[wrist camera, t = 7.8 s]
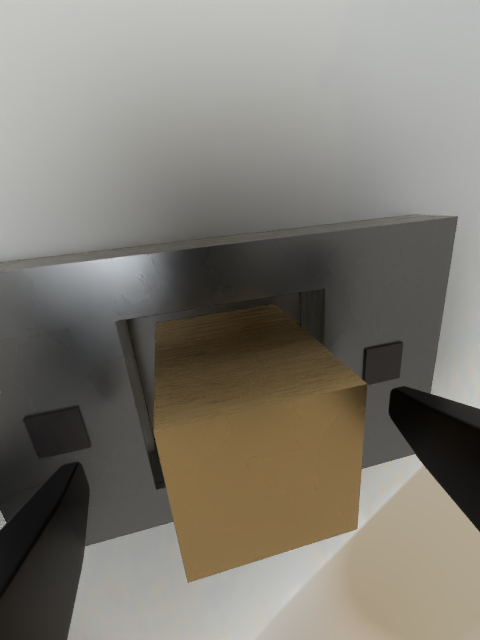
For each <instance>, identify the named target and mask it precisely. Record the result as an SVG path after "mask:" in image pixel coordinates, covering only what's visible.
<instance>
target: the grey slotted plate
mask: <svg viewBox="0 0 480 640" xmlns="http://www.w3.org/2000/svg"><path fill="white" fill-rule="evenodd" d="M457 218H458V216H435V215H406V216H397V217H388V218H380V219H371V220H362V221H354V222H345V223H337V224H328V225H319V226H311V227H302V228H293V229H285V230H276V231H267V232H259V233H250V234H241V235H233V236H224V237H215V238H207V239H198V240H190V241H181V242H172V243H164V244H155V245H146V246H138V247H129V248H120V249H112V250H103V251H94V252H86V253H77V254H69V255H60V256H51V257H43V258H34V259H25V260H17V261H8V262H0V510H1V512H2V514H3V516H4V518H5V520H6V522H8V521H9V520H10V519H11V518H12V517H13V516H14V515H15V514H16V513H17V512H18V511H19V510H20V509H21V508H22V507H23V506H24V504H25V503H26V502H27V501H28V500H29V499H30V498H31V497H32V496H33V495H34V494H35V493H36V492H37V491H38V490H39V489H40V488H41V487H42V486H43V485H44V483H45V482H46V481H47V480H48V479H49V478H50V477H51V476H52V475H53V474H54V473H55V472H56V471H57V470H58V469H59V468H60V467H61V466H62V465H64V464H68V463H73V462H80V463H81V464H82V466H83V469H84V472H85V475H86V478H87V481H88V483H89V488H90V497H89V508H88V518H87V528H86V539H85V546H88V545H91V544H95V543H98V542H102V541H106V540H109V539H113V538H116V537H120V536H123V535H127V534H131V533H134V532H138V531H141V530H145V529H148V528H152V527H156V526H159V525H163V524H166V523H170V522H174V520H173V515H172V511H171V507H170V502H169V498H168V493H167V489H166V485H165V480H164V476H163V471H162V467H161V463H160V458H159V454H158V450H156V446H155V442H154V437H153V433H152V429H151V424H150V420H149V416H148V411H147V407H146V403H145V398H144V394H143V390H142V386H141V381H140V377H139V373H138V368H137V364H136V360H135V355H134V351H133V347H132V342H131V338H130V334H129V329H128V325H127V321H126V319H132V318H139V317H145V316H151V315H158V314H164V313H170V312H177V311H183V310H190V309H196V308H202V307H209V306H215V305H222V304H228V303H234V302H241V301H247V300H253V299H260V298H266V297H273V296H279V295H285V294H292V293H298V292H300V305H301V327H302V328H303V329H304V330H306V331H307V332H308V333H309V334H310V335H311V336H313V337H314V338H315V339H316V340H317V341H318V342H319V343H321V344H322V345H323V346H324V347H325V348H326V349H328V350H329V351H330V352H331V353H332V354H333V355H335V356H336V357H337V358H338V359H339V360H340V361H342V362H343V363H344V364H345V365H346V366H347V367H348V368H350V369H351V370H352V371H353V372H354V373H355V374H357V375H358V376H359V377H360V378H361V379H362V380H364V381H365V382H366V383H367V396H366V411H365V425H364V439H363V454H362V468H361V469H363V468H367V467H370V466H374V465H377V464H381V463H385V462H388V461H392V460H395V459H399V458H402V457H406V456H410V455H413V454H415V453H414V451H413V450H412V448H411V447H410V446H409V444H408V443H407V441H406V440H405V438H404V437H403V436H402V434H401V433H400V431H399V430H398V428H397V427H396V425H395V424H394V423H393V421H392V420H391V418H390V416H389V412H388V409H389V399H390V392H391V390H392V389H393V388H397V387H401V386H407V387H410V388H413V389H416V390H420V391H423V392H426V393H429V394H430V393H431V387H432V380H433V374H434V367H435V361H436V354H437V348H438V341H439V335H440V328H441V322H442V315H443V309H444V303H445V296H446V290H447V283H448V277H449V270H450V264H451V257H452V251H453V244H454V238H455V231H456V225H457Z"/></svg>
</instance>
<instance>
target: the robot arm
mask: <svg viewBox="0 0 480 640" xmlns="http://www.w3.org/2000/svg"><path fill="white" fill-rule="evenodd" d="M388 412H389V416H390V418H391V420H392V421H393V423H394V424H395V425H396V427H397V428H398V430H399V431H400V433H401V434H402V436H403V437H404V438H405V440H406V441H407V443H408V444H409V446H410V447H411V448H412V450H413V451H414V453H415V454H416V456H417V457H418V458H419V460H420V461H421V462H422V463H423V465H424V466H425V467H426V468H427V470H428V471H429V472H430V473H431V474H432V476H433V477H434V478H435V479H436V480H437V482H438V483H439V484H440V485H441V486H442V487H443V489H444V490H445V491H446V492H447V493H448V495H449V496H450V497H451V498H452V499H453V501H454V502H455V503H456V504H457V505H458V507H459V508H460V509H461V510H462V511H463V512H464V514H465V515H466V516H467V517H468V518H469V520H470V521H471V522H472V523H473V524H474V526H475V527H476V528H477V529H478V530H479V531H480V409H478V408H475V407H471V406H468V405H465V404H462V403H458V402H455V401H452V400H449V399H445V398H442V397H439V396H436V395H432V394H429V393H426V392H423V391H420V390H416V389H413V388H410V387H407V386H401V387H397V388H393V389H392V390H391V392H390V399H389V409H388ZM89 497H90V488H89V483H88V481H87V478H86V475H85V472H84V469H83V466H82V464H81V463H80V462H73V463H68V464H64V465H62V466H61V467H60V468H59V469H58V470H57V471H56V472H55V473H54V474H53V475H52V476H51V477H50V478H49V479H48V480H47V481H46V482H45V483H44V485H43V486H42V487H41V488H40V489H39V490H38V491H37V492H36V493H35V494H34V495H33V496H32V497H31V498H30V499H29V500H28V501H27V502H26V503H25V504H24V506H23V507H22V508H21V509H20V510H19V511H18V512H17V513H16V514H15V515H14V516H13V517H12V518H11V519H10V520H9V521H8V522H7V523H6V524H5V526H4V527H3V528H2V529H1V530H0V640H67V638H68V633H69V628H70V623H71V618H72V613H73V608H74V603H75V598H76V594H77V589H78V584H79V579H80V574H81V569H82V563H83V557H84V549H85V539H86V528H87V518H88V508H89Z"/></svg>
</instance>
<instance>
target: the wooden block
mask: <svg viewBox="0 0 480 640" xmlns="http://www.w3.org/2000/svg"><path fill="white" fill-rule="evenodd" d="M366 396H367V383H366V382H365V381H364V380H362V379H361V378H360V377H359V376H358V375H357V374H355V373H354V372H353V371H352V370H351V369H350V368H348V367H347V366H346V365H345V364H344V363H343V362H342V361H340V360H339V359H338V358H337V357H336V356H335V355H333V354H332V353H331V352H330V351H329V350H328V349H326V348H325V347H324V346H323V345H322V344H321V343H319V342H318V341H317V340H316V339H315V338H314V337H313V336H311V335H310V334H309V333H308V332H307V331H306V330H304V329H303V328H302V327H301V326H300V325H299V324H297V323H296V322H295V321H294V320H293V319H292V318H290V317H289V316H288V315H287V314H286V313H285V312H284V311H282V310H281V309H280V308H279V307H278V306H277V305H275V304H271V305H265V306H259V307H252V308H246V309H240V310H234V311H227V312H221V313H215V314H209V315H202V316H196V317H190V318H184V319H177V320H171V321H165V322H159V323H156V343H155V385H154V428H153V432H154V436H155V441H156V445H157V449H158V454H159V458H160V463H161V467H162V471H163V476H164V480H165V485H166V489H167V493H168V498H169V502H170V507H171V511H172V515H173V520H174V524H175V529H176V533H177V537H178V542H179V546H180V551H181V555H182V559H183V564H184V568H185V573H186V577H187V581H188V582H192V581H195V580H198V579H201V578H204V577H207V576H211V575H214V574H217V573H220V572H223V571H226V570H229V569H233V568H236V567H239V566H242V565H245V564H248V563H252V562H255V561H258V560H261V559H264V558H267V557H271V556H274V555H277V554H280V553H283V552H286V551H289V550H293V549H296V548H299V547H302V546H305V545H308V544H312V543H315V542H318V541H321V540H324V539H327V538H330V537H334V536H337V535H340V534H343V533H346V532H349V531H353V530H356V529H357V525H358V511H359V497H360V482H361V468H362V454H363V439H364V425H365V411H366Z"/></svg>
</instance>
